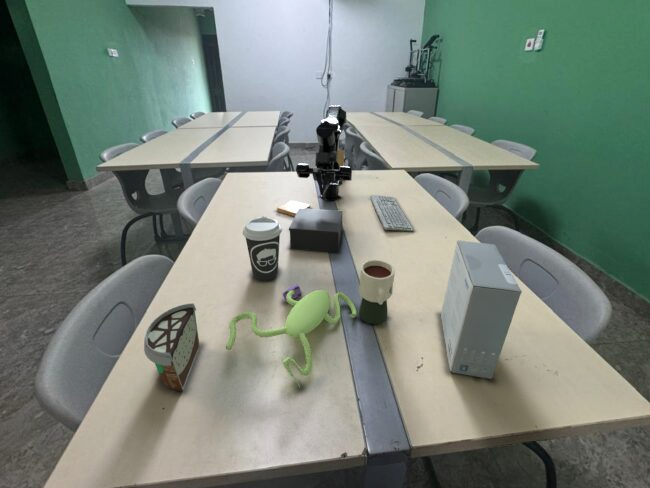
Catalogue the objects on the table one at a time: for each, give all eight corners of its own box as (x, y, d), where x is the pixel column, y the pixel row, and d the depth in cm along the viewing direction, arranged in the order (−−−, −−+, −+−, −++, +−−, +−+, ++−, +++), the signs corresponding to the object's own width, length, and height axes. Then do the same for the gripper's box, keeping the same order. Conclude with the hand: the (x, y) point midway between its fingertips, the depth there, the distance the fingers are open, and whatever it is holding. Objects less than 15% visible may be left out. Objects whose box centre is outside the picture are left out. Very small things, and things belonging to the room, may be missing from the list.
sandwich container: (346, 170, 169) (347, 143, 163) (342, 180, 155) (344, 150, 149) (330, 169, 170) (331, 141, 164) (325, 178, 156) (326, 148, 150)
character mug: (394, 334, 66) (401, 284, 61) (360, 336, 66) (365, 285, 61) (383, 299, 76) (388, 254, 71) (354, 300, 76) (357, 254, 70)
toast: (291, 203, 127) (291, 200, 127) (310, 208, 123) (310, 205, 123) (277, 211, 120) (277, 207, 120) (296, 217, 116) (296, 213, 116)
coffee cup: (289, 267, 87) (288, 219, 81) (272, 288, 79) (269, 236, 73) (259, 260, 90) (255, 212, 84) (239, 279, 82) (233, 228, 75)
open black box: (338, 252, 95) (338, 232, 92) (290, 248, 96) (289, 229, 93) (341, 231, 107) (342, 213, 105) (299, 228, 108) (299, 210, 106)
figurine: (215, 352, 61) (211, 331, 59) (300, 281, 82) (300, 263, 79) (289, 404, 52) (287, 381, 50) (364, 310, 73) (365, 290, 71)
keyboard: (413, 231, 109) (414, 226, 108) (384, 231, 108) (384, 226, 107) (393, 198, 135) (394, 194, 135) (369, 198, 135) (370, 194, 134)
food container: (170, 341, 63) (160, 302, 59) (202, 340, 64) (194, 301, 59) (140, 401, 52) (126, 358, 48) (179, 399, 52) (168, 356, 48)
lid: (338, 234, 91) (338, 232, 91) (288, 230, 92) (288, 228, 92) (342, 213, 105) (342, 210, 104) (299, 209, 106) (299, 207, 105)
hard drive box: (493, 381, 57) (523, 293, 49) (449, 373, 58) (471, 286, 50) (474, 319, 71) (495, 243, 63) (439, 314, 72) (455, 238, 64)
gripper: (296, 139, 103) (289, 183, 98) (353, 142, 102) (349, 187, 96) (301, 156, 114) (295, 196, 108) (353, 159, 112) (349, 200, 107)
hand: (321, 195), depth 105 cm, fingers closed
